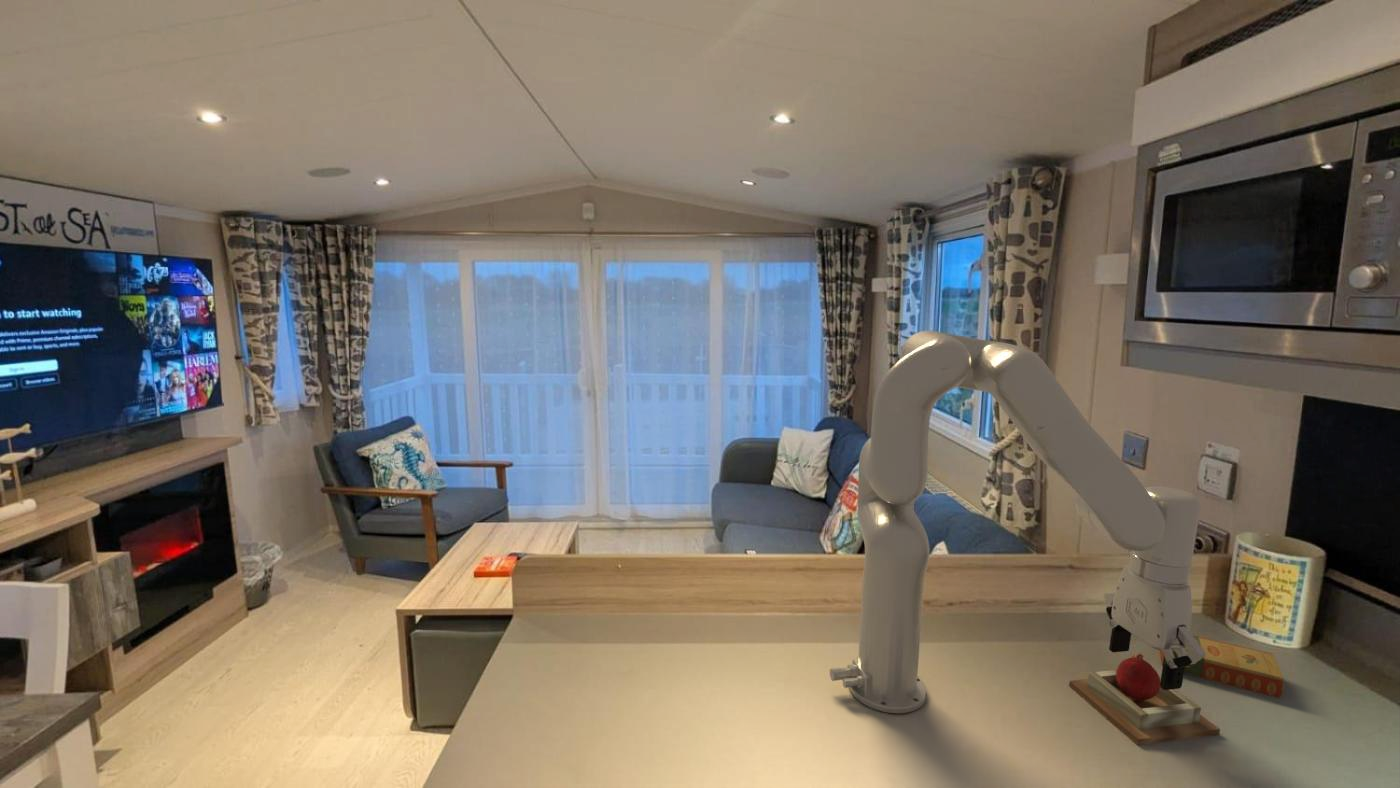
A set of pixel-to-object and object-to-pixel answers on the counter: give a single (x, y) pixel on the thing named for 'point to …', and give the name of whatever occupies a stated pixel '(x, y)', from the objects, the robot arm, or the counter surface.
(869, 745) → the counter surface
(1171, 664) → the robot arm
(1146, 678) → the onion
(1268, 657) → the carton
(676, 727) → the counter surface
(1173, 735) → the holder
